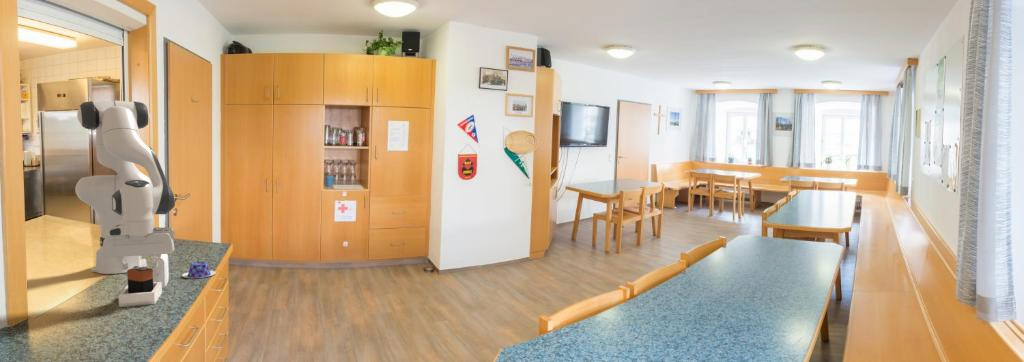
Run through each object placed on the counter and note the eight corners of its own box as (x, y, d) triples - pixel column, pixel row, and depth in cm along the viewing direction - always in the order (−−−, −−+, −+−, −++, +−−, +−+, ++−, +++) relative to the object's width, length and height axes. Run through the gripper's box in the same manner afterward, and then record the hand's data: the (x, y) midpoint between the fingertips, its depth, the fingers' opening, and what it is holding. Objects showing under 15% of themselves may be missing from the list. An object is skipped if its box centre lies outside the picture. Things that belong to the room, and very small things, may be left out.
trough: (128, 295, 192) (128, 284, 191) (161, 292, 196) (161, 281, 195) (119, 307, 180) (118, 295, 179) (154, 303, 184) (154, 292, 183)
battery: (142, 298, 184) (141, 269, 183) (127, 295, 186) (126, 267, 185) (154, 294, 188) (153, 266, 187) (139, 292, 190) (138, 264, 189)
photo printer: (165, 287, 201) (164, 255, 200) (152, 289, 200) (150, 256, 198) (169, 280, 211) (169, 249, 210) (156, 281, 209) (155, 249, 208)
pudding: (182, 281, 211) (182, 268, 211) (180, 274, 221) (180, 261, 220) (217, 277, 218) (217, 264, 217) (214, 270, 228) (214, 258, 227)
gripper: (175, 225, 192) (176, 263, 193) (105, 227, 184) (106, 268, 185) (172, 228, 186) (173, 268, 188) (99, 231, 178) (101, 272, 180)
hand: (140, 268), depth 186 cm, fingers open, 7 cm apart
